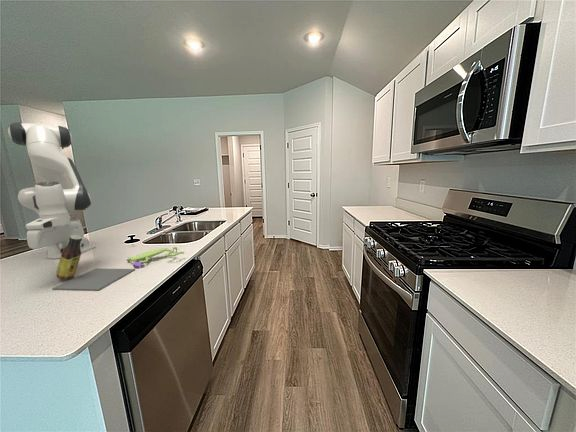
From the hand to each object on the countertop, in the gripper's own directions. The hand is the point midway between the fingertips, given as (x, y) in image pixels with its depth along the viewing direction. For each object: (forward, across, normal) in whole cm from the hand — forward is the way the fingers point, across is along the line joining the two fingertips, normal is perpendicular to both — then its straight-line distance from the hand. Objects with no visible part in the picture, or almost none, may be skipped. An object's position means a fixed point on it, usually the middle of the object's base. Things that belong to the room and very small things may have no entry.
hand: (61, 252), depth 103 cm
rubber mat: (+12, -1, +13) cm, 18 cm away
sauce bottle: (+11, -1, -2) cm, 11 cm away
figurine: (+13, -25, +25) cm, 38 cm away
